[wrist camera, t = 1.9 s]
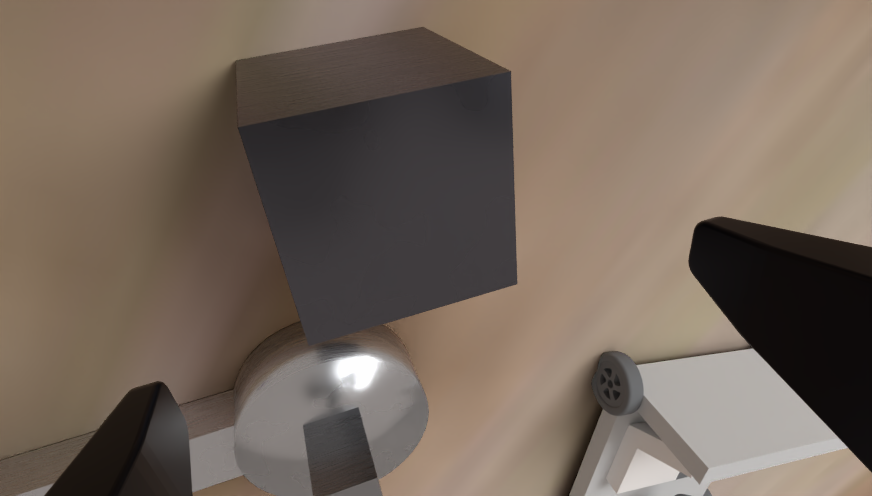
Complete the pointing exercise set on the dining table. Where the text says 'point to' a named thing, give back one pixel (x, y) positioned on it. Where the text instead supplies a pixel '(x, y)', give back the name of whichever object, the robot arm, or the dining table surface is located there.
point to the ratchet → (287, 421)
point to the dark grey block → (382, 175)
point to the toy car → (693, 425)
